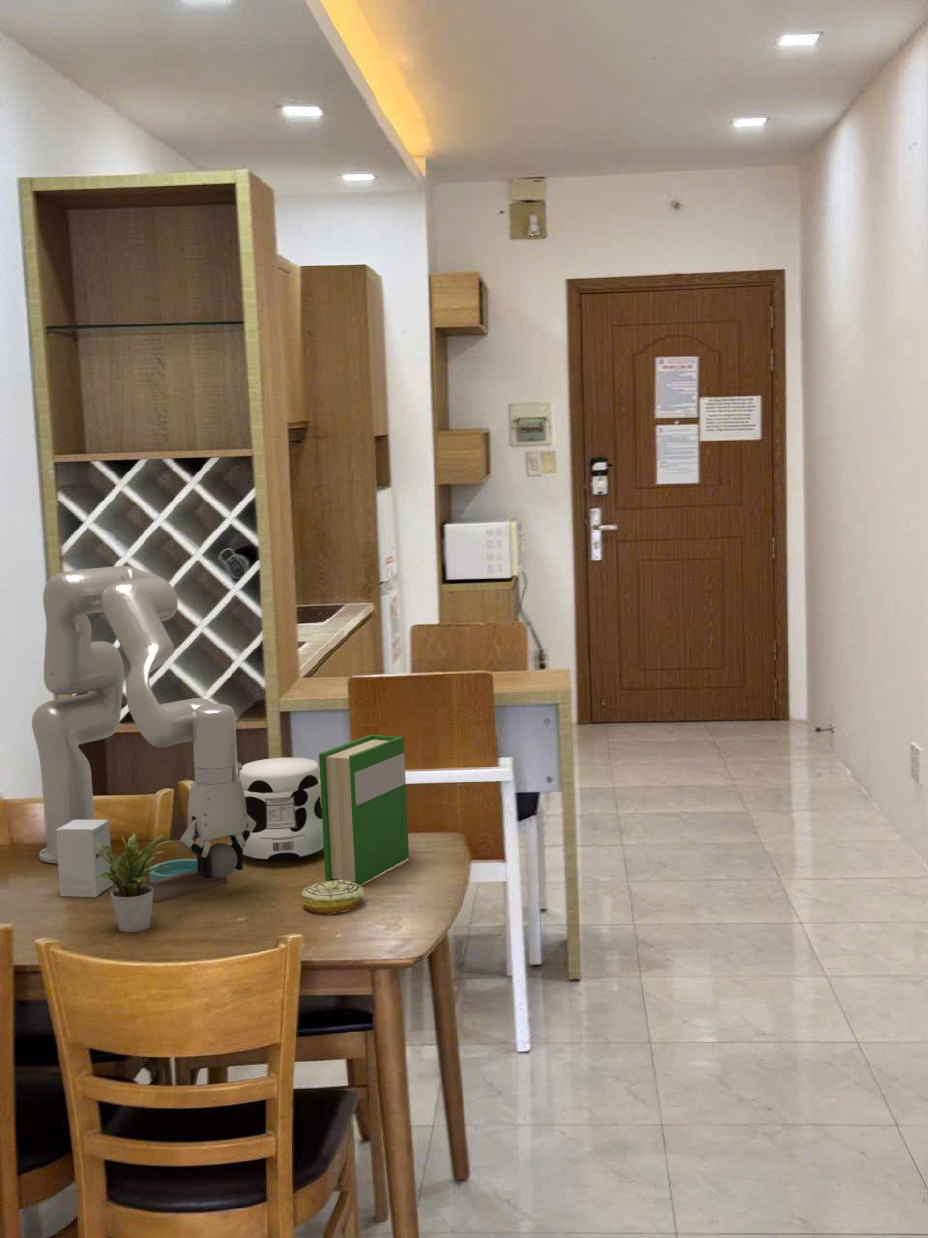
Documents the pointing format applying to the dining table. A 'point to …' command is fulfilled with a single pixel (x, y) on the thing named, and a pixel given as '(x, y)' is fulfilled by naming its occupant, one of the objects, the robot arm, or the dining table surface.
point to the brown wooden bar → (183, 885)
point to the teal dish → (173, 868)
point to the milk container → (283, 809)
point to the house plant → (131, 884)
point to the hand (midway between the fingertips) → (220, 872)
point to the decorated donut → (332, 896)
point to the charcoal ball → (222, 859)
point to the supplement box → (83, 857)
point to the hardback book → (364, 808)
